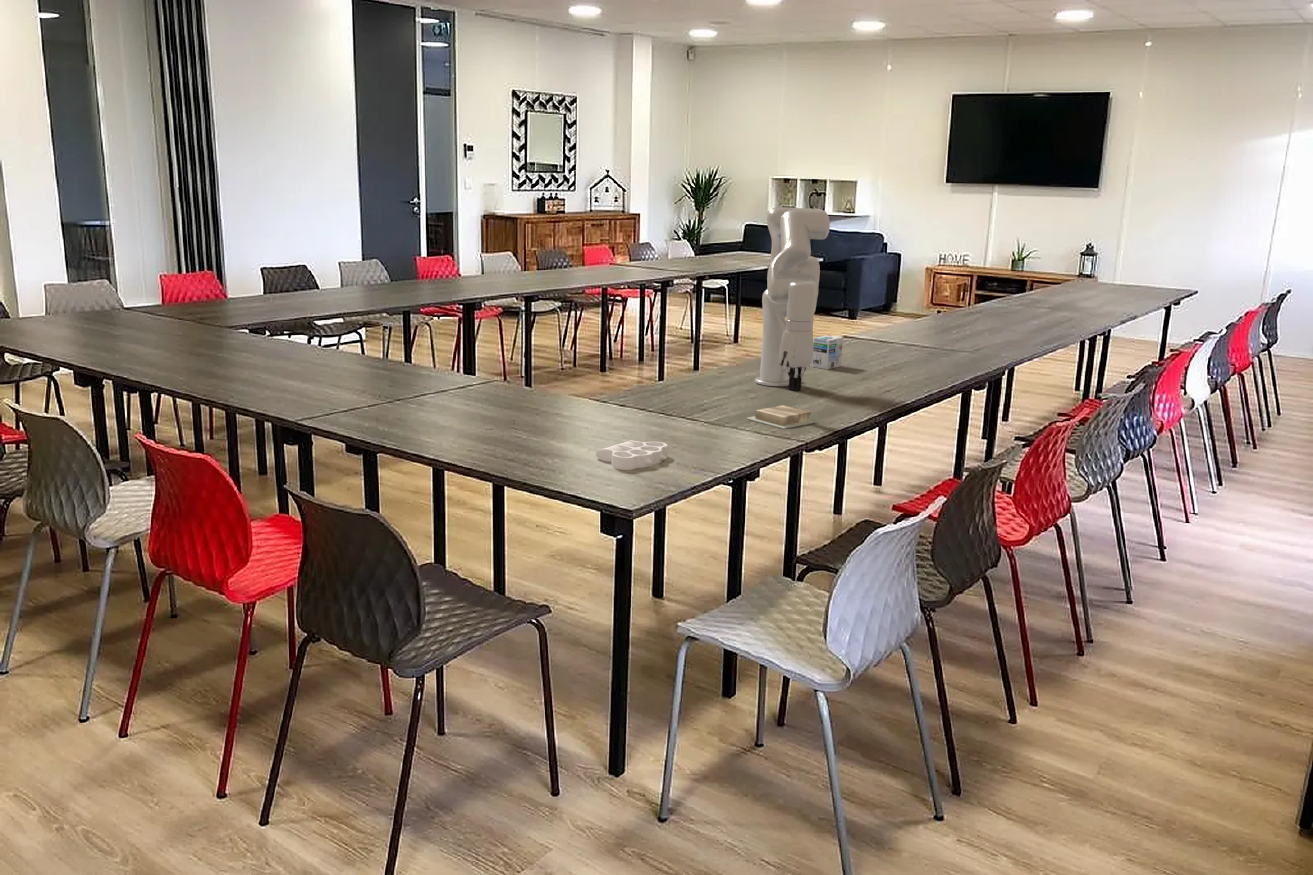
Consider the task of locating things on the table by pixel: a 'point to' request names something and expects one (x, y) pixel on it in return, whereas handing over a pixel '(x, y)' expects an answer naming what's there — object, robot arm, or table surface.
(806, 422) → the mat
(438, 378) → the table surface
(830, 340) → the light bulb box
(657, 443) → the white muffin tray
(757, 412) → the birch tile
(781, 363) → the robot arm
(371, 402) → the table surface
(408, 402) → the table surface
